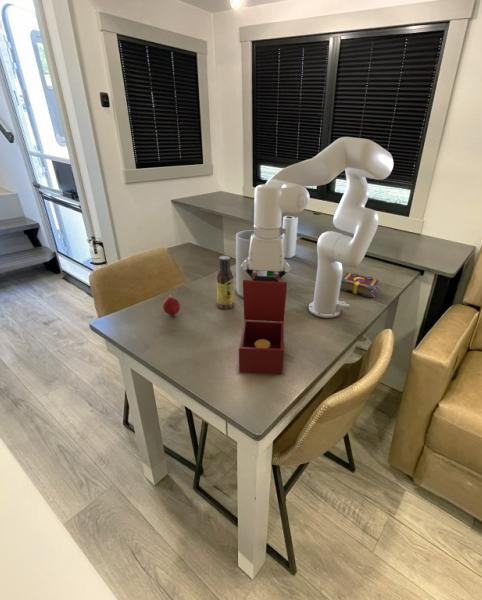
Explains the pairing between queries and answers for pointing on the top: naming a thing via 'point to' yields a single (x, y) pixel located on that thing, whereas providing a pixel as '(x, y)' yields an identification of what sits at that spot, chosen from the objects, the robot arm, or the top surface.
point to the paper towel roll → (290, 235)
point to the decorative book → (359, 284)
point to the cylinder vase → (243, 259)
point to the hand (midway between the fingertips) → (265, 289)
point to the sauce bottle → (225, 284)
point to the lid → (264, 299)
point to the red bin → (261, 357)
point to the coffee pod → (262, 343)
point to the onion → (171, 306)
